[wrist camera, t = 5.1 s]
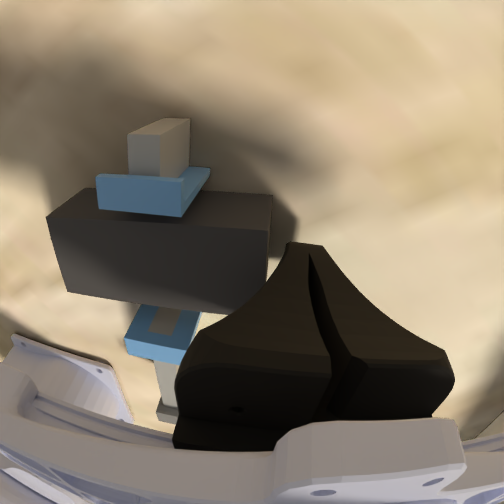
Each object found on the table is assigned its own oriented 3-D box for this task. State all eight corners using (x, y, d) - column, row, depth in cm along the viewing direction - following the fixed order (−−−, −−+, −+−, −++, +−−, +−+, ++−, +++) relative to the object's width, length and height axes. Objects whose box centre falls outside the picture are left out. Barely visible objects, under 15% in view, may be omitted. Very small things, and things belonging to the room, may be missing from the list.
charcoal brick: (100, 252, 14) (67, 291, 12) (88, 185, 13) (45, 217, 10) (267, 267, 14) (262, 318, 11) (272, 191, 12) (268, 230, 9)
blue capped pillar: (166, 371, 18) (149, 420, 15) (162, -76, 6) (121, -113, 3) (208, 379, 18) (195, 430, 15) (233, -82, 6) (212, -130, 3)
